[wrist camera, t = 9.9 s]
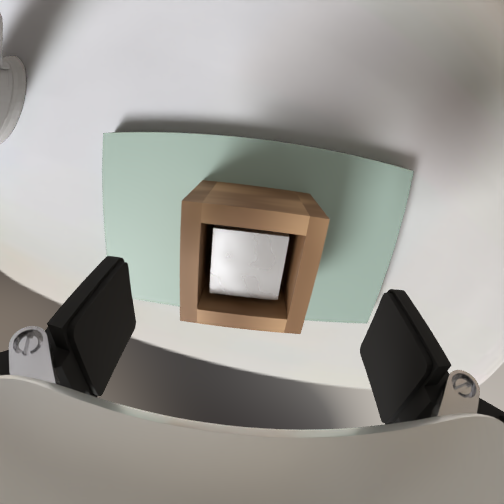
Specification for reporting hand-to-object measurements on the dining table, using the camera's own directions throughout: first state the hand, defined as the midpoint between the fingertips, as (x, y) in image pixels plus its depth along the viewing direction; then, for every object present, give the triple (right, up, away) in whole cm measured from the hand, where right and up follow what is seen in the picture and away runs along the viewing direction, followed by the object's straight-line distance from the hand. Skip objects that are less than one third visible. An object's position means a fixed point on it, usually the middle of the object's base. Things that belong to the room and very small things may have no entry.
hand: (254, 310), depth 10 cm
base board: (0, +4, +9) cm, 10 cm away
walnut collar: (0, +3, +8) cm, 9 cm away
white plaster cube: (0, +3, +8) cm, 9 cm away
